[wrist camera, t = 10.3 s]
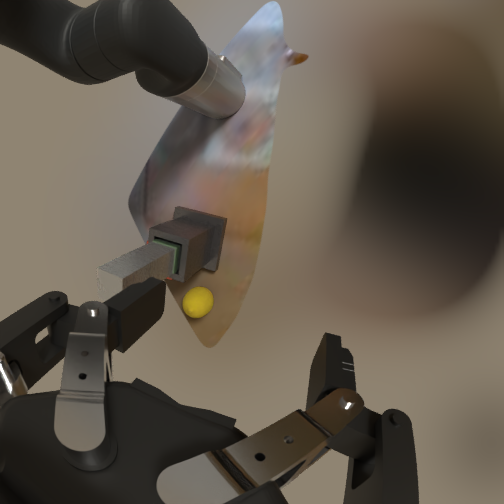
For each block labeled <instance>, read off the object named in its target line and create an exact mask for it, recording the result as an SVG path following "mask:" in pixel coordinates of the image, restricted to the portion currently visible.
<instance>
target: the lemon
mask: <svg viewBox="0 0 504 504" xmlns="http://www.w3.org/2000/svg"><path fill="white" fill-rule="evenodd" d="M213 303H214V299H213V295H212V293H211V292H210V291H209V290H208V289H207V288H205V287H195V288H192V289H191V290H189V291H188V292H187V293H186V295H185V297H184V299H183V309H184V311H185V313H186V314H187V315H189V316H190V317H193V318H200V317H203V316H205V315H206V314H207V313H209V311H210V310H211V309H212V307H213Z"/></svg>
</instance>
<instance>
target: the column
mask: <svg viewBox="0 0 504 504" xmlns="http://www.w3.org/2000/svg"><path fill="white" fill-rule="evenodd" d="M181 251H182V244H180V243H176V242H173V241H170V240H166V239H163V238H159V239H155V240H153V242H150V243H148V244H146V245H144V246H142V247H139V248H137V249H135V250H133V251H131V252H129V253H127V254H124V255H122V256H120V257H118V258H116V259H114V260H112V261H110V262H108V263H106V264H104V265H102V266H99V267H97V285H98V298H100V299H102V300H104V301H106V300H108V299H110V298H111V297H113V296H114V295H116V294H117V293H119V292H120V291H122V290H124V289H125V288H127V287H128V286H130V285H132V284H135V283H139V282H141V283H142V282H144V281H145V280H147V279H148V278H150V277H154V278H157V279H159V280H162V281H163V280H164V279H166V278H167V277H168V276H170V275H171V274H174V273H176V272H177V270H178V269H179V267H180V259H181Z"/></svg>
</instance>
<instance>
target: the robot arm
mask: <svg viewBox="0 0 504 504" xmlns="http://www.w3.org/2000/svg"><path fill="white" fill-rule="evenodd" d="M0 44H2V45H4V46H6V47H9V48H11V49H13V50H15V51H17V52H19V53H21V54H23V55H25V56H27V57H29V58H31V59H33V60H34V61H36V62H38V63H40V64H42V65H44V66H45V67H47V68H49V69H50V70H52V71H54V72H56V73H57V74H59V75H61V76H63V77H65V78H67V79H69V80H71V81H74V82H77V83H80V84H85V85H92V84H99V83H103V82H106V81H109V80H111V79H114V78H116V77H119V76H121V75H125V74H127V73H130V72H133V71H135V74H136V79H137V81H138V83H139V84H140V86H141V87H142V88H143V89H145V90H146V91H148V92H150V93H152V94H155V95H157V96H160V97H162V98H165V99H167V100H170V101H172V102H175V103H178V104H180V105H182V106H185V107H187V108H189V109H192V110H194V111H196V112H199V113H201V114H203V115H205V116H208V117H210V118H214V119H222V118H226V117H229V116H231V115H233V114H234V113H236V112H237V111H238V110H239V109H240V107H241V106H242V104H243V102H244V99H245V87H244V85H243V83H242V80H241V78H242V75H241V73H240V72H239V71H238V70H237V69H236V68H235V67H234V66H233V64H232V63H231V62H230V61H229V60H228V59H227V58H226V57H225V56H222V55H216V54H215V53H214V52H213V51H212V50H211V49H210V48H209V47H208V46H207V45H206V44H205V43H204V42H203V41H201V39H200V38H199V36H198V34H197V33H196V31H195V29H194V28H193V26H192V25H191V23H190V22H189V21H188V20H187V19H186V18H185V17H184V16H183V15H182V14H181V12H180V11H179V10H178V9H177V8H176V7H175V6H174V5H173V4H172V3H171V2H170V1H169V0H98V1H97V2H95V3H93V4H92V5H90V6H88V7H87V8H82V7H79V6H77V5H75V4H73V3H71V2H70V1H68V0H0ZM165 292H166V283H165V281H162V280H159V279H157V278H154V277H150V278H148V279H147V280H145V281H144V282H142V283H141V282H139V283H135V284H132V285H130V286H128V287H127V288H125V289H124V290H122V291H120V292H119V293H117V294H116V295H114V296H113V297H111V298H110V299H108V300H106V301H105V302H104V303H101V302H98V301H89V302H86V303H84V304H82V305H81V306H80V307H78V306H74V305H70V304H68V299H67V295H66V294H64V293H63V292H59V291H52V292H48V293H46V294H44V295H43V296H41V297H39V298H38V299H36V300H34V301H33V302H31V303H30V304H28V305H27V306H25V307H23V308H21V309H20V310H18V311H17V312H15V313H13V314H12V315H10V316H9V317H7V318H6V319H4V320H3V321H1V322H0V504H288V502H287V501H286V499H285V497H284V496H283V494H282V492H281V489H282V488H283V487H285V486H286V485H288V484H289V483H290V482H292V481H293V480H294V479H295V478H297V477H298V476H299V475H300V474H301V473H302V472H303V471H305V470H306V469H307V468H309V467H310V466H311V465H313V464H314V463H315V462H316V461H318V460H319V459H320V458H321V457H322V456H324V455H325V454H326V453H327V452H328V451H330V450H331V449H333V450H335V451H338V452H340V453H342V454H344V455H346V456H349V462H348V472H347V480H346V488H345V496H344V502H343V504H419V492H418V476H417V463H416V453H415V445H414V437H413V430H412V423H411V420H410V418H409V417H408V416H407V415H406V414H405V413H404V412H402V411H400V410H397V409H388V410H386V411H385V412H384V413H383V414H382V415H381V414H378V413H376V412H374V411H371V410H369V409H367V408H366V407H364V400H363V398H362V397H361V396H360V395H359V394H358V393H357V392H356V382H355V372H354V366H353V365H354V362H353V356H352V354H351V353H350V351H349V350H348V349H346V348H342V347H341V337H340V336H337V335H334V334H330V333H325V334H324V336H323V338H322V340H321V343H320V345H319V347H318V350H317V352H316V354H315V356H314V359H313V362H312V365H311V369H310V379H309V387H308V395H307V403H306V411H304V412H303V411H302V410H301V409H298V410H296V411H294V412H292V413H290V414H289V415H287V416H285V417H284V418H282V419H280V420H278V421H277V422H275V423H274V424H271V425H270V426H268V427H266V428H264V429H262V430H261V431H259V432H257V433H255V434H253V435H251V436H249V437H248V436H247V435H246V434H244V433H243V432H242V431H240V430H239V429H237V428H236V427H234V425H235V422H236V419H234V418H231V417H228V416H225V415H222V414H219V413H216V412H214V411H211V410H206V409H200V408H195V407H190V406H185V405H181V404H179V403H177V402H176V401H175V400H173V399H172V398H171V397H169V396H168V395H166V394H165V393H164V392H162V391H161V390H160V389H158V388H156V387H154V386H152V385H150V384H148V383H146V382H144V381H142V380H140V379H138V378H136V379H135V380H134V381H133V382H132V383H126V382H118V381H113V365H112V351H113V350H114V349H116V350H118V351H120V352H122V353H124V352H125V351H126V350H127V349H128V348H130V347H131V345H133V344H134V343H135V342H136V341H137V340H138V339H139V338H140V337H141V336H142V335H143V334H144V333H145V332H146V331H148V330H149V329H150V328H151V327H152V326H153V325H154V324H155V323H156V322H157V321H158V320H159V319H160V318H161V316H162V314H163V312H164V305H165ZM46 327H47V329H48V333H49V334H48V335H47V336H46V337H45V338H43V339H42V340H41V341H39V342H38V343H37V344H36V343H35V338H36V335H37V334H38V333H39V332H40V331H42V330H43V329H44V328H46ZM64 357H65V359H64V366H63V373H62V380H61V389H60V390H57V391H50V392H43V393H35V394H27V393H28V390H29V389H30V388H31V387H32V386H33V385H34V384H35V383H36V382H37V381H39V380H40V379H41V377H43V376H44V375H45V374H46V373H47V372H48V371H49V370H51V369H52V368H53V367H54V366H55V365H56V364H57V363H58V362H59V361H60V360H62V359H63V358H64Z"/></svg>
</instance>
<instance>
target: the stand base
mask: <svg viewBox="0 0 504 504" xmlns="http://www.w3.org/2000/svg"><path fill="white" fill-rule="evenodd" d="M226 223H227V218H224V217H220V216H216V215H212V214H208V213H204V212H200V211H196V210H192V209H188V208H184V207H180V206H178V207H175V212H174V219H173V220H170V221H168V222H165V223H162V224H159V225H157V226H154V227H151V228H150V229H149V240H148V241H147V244H148V243H150V242H153V240H155V239H159V238H163V239H166V240H170V241H173V242H176V243H180V244H182V251H181V259H180V267H179V269H178V270H177V272H176V273H174V274H171V275H170V276H168V277H167V279H170V280H172V279H174V280H177V281H180V282H183V283H184V282H185V281H186V280H188V279H189V278H190V277H191V276H192V275H194V274H195V273H196V272H197V271H198V270H200V269H201V268H206V269H209V270H212V271H216V270H217V269H218V265H219V260H220V254H221V249H222V244H223V238H224V233H225V228H226Z"/></svg>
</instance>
